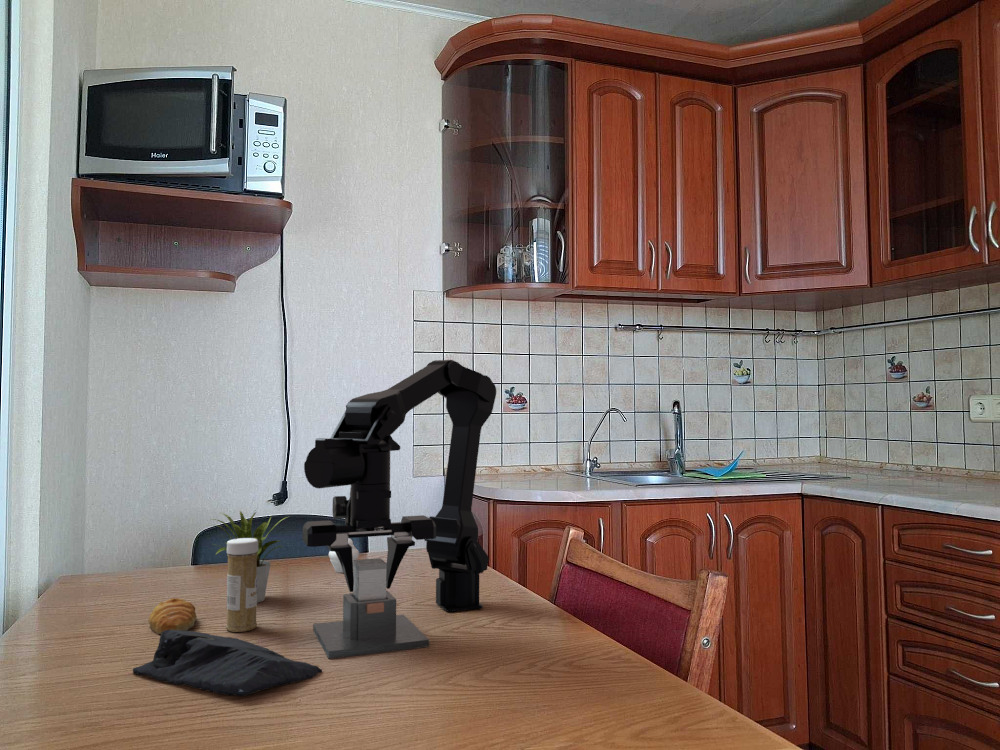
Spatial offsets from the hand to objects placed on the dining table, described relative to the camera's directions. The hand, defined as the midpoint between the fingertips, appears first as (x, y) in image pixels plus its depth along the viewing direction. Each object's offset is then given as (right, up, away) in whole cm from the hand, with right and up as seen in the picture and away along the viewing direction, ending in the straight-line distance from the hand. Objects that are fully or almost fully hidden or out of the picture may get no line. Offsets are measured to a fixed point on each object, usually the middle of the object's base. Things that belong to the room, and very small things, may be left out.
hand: (369, 589), depth 111 cm
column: (0, -6, 0) cm, 6 cm away
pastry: (-31, -8, +6) cm, 32 cm away
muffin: (-13, -9, +45) cm, 48 cm away
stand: (0, -7, 0) cm, 7 cm away
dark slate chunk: (-16, -7, -14) cm, 22 cm away
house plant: (-26, -8, +21) cm, 35 cm away
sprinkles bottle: (-20, -7, +4) cm, 22 cm away
